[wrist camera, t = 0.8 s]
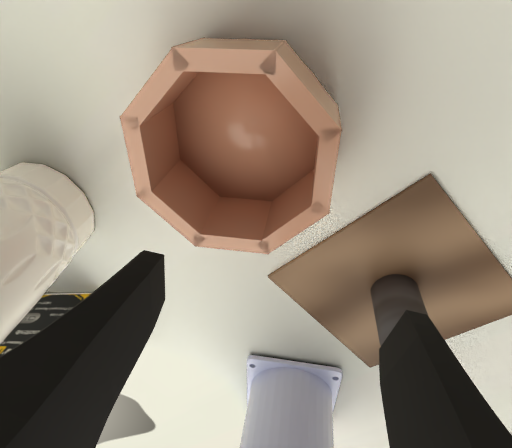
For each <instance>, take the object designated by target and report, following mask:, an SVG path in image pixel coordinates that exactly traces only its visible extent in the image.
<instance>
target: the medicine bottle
mask: <svg viewBox="0 0 512 448" xmlns="http://www.w3.org/2000/svg"><path fill="white" fill-rule="evenodd" d="M90 294H91V293H57V294H44V295H43V296H42V297H41V298H40V300H39V301H38V302H37V303H36V304H35V305H34V306H33V308H32V309H31V310H30V311H29V312H28V313H27V314H26V316H25V317H24V318H23V319H22V320H21V321H20V322H19V323H18V325H17V326H16V327H15V328H14V329H13V330H12V331H11V333H10V334H9V335H8V336H7V337H6V338H5V340H4V341H3V342H2V343H1V344H0V356H2V355H4V354H5V353H7V352H8V351H10V350H12V349H13V348H15V347H16V346H18V345H20V344H21V343H23V342H24V341H26V340H27V339H29V338H30V337H32V336H33V335H35V334H36V333H38V332H39V331H41V330H42V329H44V328H45V327H47V326H48V325H49V324H51V323H52V322H54V321H55V320H56V319H58V318H59V317H61V316H62V315H63V314H65V313H66V312H67V311H69V310H70V309H72V308H73V307H74V306H76V305H77V304H78V303H80V302H81V301H82V300H84V299H85V298H86V297H87V296H89V295H90Z"/></svg>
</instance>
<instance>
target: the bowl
mask: <svg viewBox="0 0 512 448" xmlns="http://www.w3.org/2000/svg"><path fill="white" fill-rule="evenodd" d="M171 48H172V49H171V50H170V51H169V53H168V54H167V55H166V57H165V58H164V59H163V61H162V62H161V63H160V65H159V66H158V67H157V69H156V70H155V71H154V73H153V74H152V75H151V77H150V78H149V79H148V81H147V82H146V83H145V85H144V86H143V87H142V89H141V90H140V91H139V93H138V94H137V95H136V97H135V98H134V99H133V101H132V102H131V103H130V105H129V106H128V107H127V109H126V110H125V111H124V113H123V114H122V115H121V116H120V119H121V124H122V128H123V133H124V138H125V143H126V147H127V152H128V157H129V161H130V166H131V171H132V176H133V180H134V185H135V190H136V194H137V195H136V196H137V197H138V198H140V199H141V200H142V201H143V202H144V203H145V204H147V205H148V206H149V207H150V208H151V209H152V210H154V211H155V212H156V213H157V214H158V215H159V216H161V217H162V218H163V219H164V220H165V221H166V222H168V223H169V224H170V225H171V226H172V227H173V228H175V229H176V230H177V231H178V232H179V233H180V234H182V235H183V236H184V237H185V238H186V239H187V240H189V241H190V242H191V243H192V244H193V245H194V246H198V247H207V248H217V249H226V250H235V251H244V252H254V253H263V254H269V253H270V252H272V251H273V250H275V249H276V248H278V247H279V246H281V245H282V244H284V243H285V242H287V241H288V240H290V239H291V238H293V237H294V236H296V235H297V234H299V233H300V232H302V231H303V230H305V229H306V228H308V227H309V226H311V225H312V224H314V223H315V222H317V221H318V220H320V219H321V218H323V217H324V216H326V215H327V214H329V213H330V210H329V209H330V202H331V196H332V189H333V182H334V176H335V169H336V162H337V156H338V149H339V143H340V136H341V131H342V127H341V121H340V115H339V109H338V104H337V103H336V102H335V101H334V100H333V98H332V97H331V96H330V95H329V94H328V92H327V91H326V90H325V89H324V87H323V86H322V85H321V84H320V82H319V81H318V79H317V78H316V76H315V75H314V74H313V72H312V71H311V70H310V69H309V68H308V67H307V66H306V65H305V64H304V62H303V61H302V60H301V59H300V58H299V57H298V55H297V54H296V53H295V52H294V50H293V49H292V48H291V47H290V45H289V44H288V43H287V42H286V40H285V39H284V40H259V39H247V38H244V39H218V38H205V37H204V38H201V39H197V40H194V41H190V42H187V43H183V44H180V45H176V46H173V47H171Z"/></svg>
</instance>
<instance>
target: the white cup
mask: <svg viewBox="0 0 512 448" xmlns="http://www.w3.org/2000/svg"><path fill="white" fill-rule="evenodd" d="M93 231H94V212H93V210H92V208H91V206H90V204H89V202H88V200H87V198H86V196H85V194H84V193H83V192H82V191H81V190H80V189H79V188H78V187H77V186H76V185H75V184H74V183H73V182H72V181H71V180H70V179H69V178H68V177H67V176H66V175H64V174H62V173H60V172H58V171H56V170H54V169H52V168H50V167H48V166H46V165H44V164H35V163H25V162H21V163H19V164H16V165H14V166H12V167H10V168H8V169H6V170H4V171H1V172H0V344H1V343H2V342H3V341H4V340H5V338H6V337H7V336H8V335H9V334H10V333H11V331H12V330H13V329H14V328H15V327H16V326H17V325H18V323H19V322H20V321H21V320H22V319H23V318H24V317H25V316H26V314H27V313H28V312H29V311H30V310H31V309H32V308H33V306H34V305H35V304H36V303H37V302H38V301H39V300H40V298H41V297H42V296H43V295H44V293H45V292H46V290H47V289H48V288H49V287H50V286H51V285H52V284H53V283H54V282H55V280H56V279H57V278H58V277H59V275H60V274H61V272H62V271H63V270H64V269H65V268H66V267H67V266H68V265H69V263H70V262H71V260H72V257H73V256H74V255H75V254H76V253H77V252H78V251H79V249H80V248H81V247H82V246H83V245H84V244H85V243H86V241H87V240H88V238H89V237H90V236H91V234H92V233H93Z"/></svg>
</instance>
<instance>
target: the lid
mask: <svg viewBox="0 0 512 448" xmlns="http://www.w3.org/2000/svg"><path fill="white" fill-rule="evenodd" d="M268 278H269V279H271V280H272V281H273V282H274V283H275V284H276V285H277V286H278V287H280V288H281V289H282V290H283V291H284V292H285V293H286V294H288V295H289V296H290V297H291V298H292V299H293V300H294V301H295V302H297V303H298V304H299V305H300V306H301V307H302V308H303V309H304V310H306V311H307V312H308V313H309V314H310V315H311V316H312V317H313V318H315V319H316V320H317V321H318V322H319V323H320V324H321V325H322V326H324V327H325V328H326V329H327V330H328V331H329V332H330V333H331V334H333V335H334V336H335V337H336V338H337V339H338V340H339V341H340V342H342V343H343V344H344V345H345V346H346V347H347V348H348V349H349V350H351V351H352V352H353V353H354V354H355V355H356V356H357V357H359V358H360V359H361V360H362V361H363V362H364V363H365V364H366V365H368V366H369V367H373V366H376V365H378V364H379V348H380V347H381V345H382V344H383V342H384V341H385V340H386V338H387V337H388V335H389V334H390V332H391V331H392V329H393V328H394V327H395V325H396V324H397V322H398V321H399V319H400V318H401V316H402V315H403V314H404V312H405V311H406V310H409V311H413V312H418V313H422V314H427V315H428V316H429V318H430V319H431V321H432V322H433V324H434V325H435V327H436V328H437V330H438V331H439V333H440V334H441V336H442V337H443V339H444V340H445V339H448V338H451V337H453V336H456V335H459V334H461V333H464V332H467V331H469V330H472V329H475V328H477V327H480V326H483V325H485V324H488V323H491V322H493V321H496V320H499V319H502V318H504V317H507V316H510V315H512V279H511V277H510V276H509V275H508V273H507V272H506V271H505V269H504V268H503V267H502V266H501V264H500V263H499V262H498V260H497V259H496V258H495V256H494V255H493V254H492V253H491V251H490V250H489V249H488V247H487V246H486V245H485V244H484V242H483V241H482V240H481V238H480V237H479V236H478V234H477V233H476V232H475V231H474V229H473V228H472V227H471V225H470V224H469V223H468V222H467V220H466V219H465V218H464V216H463V215H462V214H461V212H460V211H459V210H458V209H457V207H456V206H455V205H454V203H453V202H452V201H451V199H450V198H449V197H448V196H447V194H446V193H445V192H444V190H443V189H442V188H441V187H440V185H439V184H438V183H437V181H436V180H435V179H434V177H433V176H432V175H431V174H429V175H427V176H425V177H424V178H422V179H421V180H419V181H418V182H416V183H414V184H413V185H411V186H410V187H408V188H406V189H405V190H403V191H402V192H400V193H398V194H397V195H395V196H394V197H392V198H390V199H389V200H387V201H386V202H384V203H382V204H381V205H379V206H378V207H376V208H375V209H373V210H371V211H370V212H368V213H367V214H365V215H363V216H362V217H360V218H359V219H357V220H355V221H354V222H352V223H351V224H349V225H347V226H346V227H344V228H343V229H341V230H340V231H338V232H336V233H335V234H333V235H332V236H330V237H328V238H327V239H325V240H324V241H322V242H320V243H319V244H317V245H316V246H314V247H312V248H311V249H309V250H308V251H306V252H304V253H303V254H301V255H300V256H298V257H297V258H295V259H293V260H292V261H290V262H289V263H287V264H285V265H284V266H282V267H281V268H279V269H277V270H276V271H274V272H273V273H271V274H269V275H268Z"/></svg>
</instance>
